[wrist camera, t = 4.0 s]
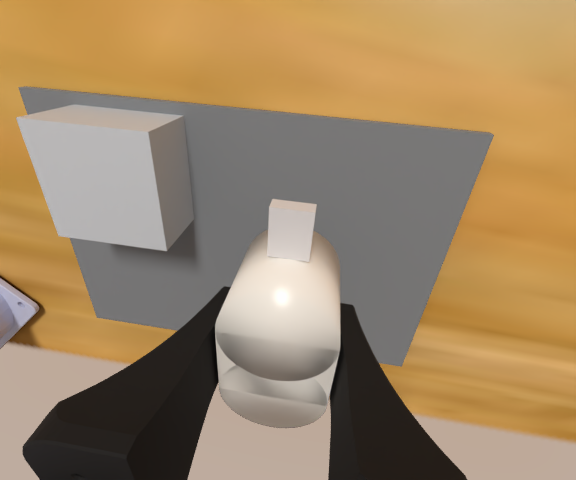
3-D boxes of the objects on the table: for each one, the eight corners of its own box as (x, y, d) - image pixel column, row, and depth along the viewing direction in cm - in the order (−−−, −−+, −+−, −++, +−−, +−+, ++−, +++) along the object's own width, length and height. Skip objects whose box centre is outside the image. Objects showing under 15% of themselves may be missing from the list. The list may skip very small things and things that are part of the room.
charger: (101, 207, 17) (58, 236, 14) (74, 104, 14) (15, 117, 12) (193, 219, 16) (166, 251, 14) (183, 115, 14) (148, 132, 11)
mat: (100, 313, 22) (96, 317, 21) (25, 86, 14) (18, 87, 14) (400, 361, 20) (401, 366, 20) (490, 132, 13) (493, 135, 12)
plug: (320, 373, 17) (315, 455, 13) (245, 360, 17) (222, 438, 14) (356, 188, 11) (363, 249, 8) (245, 175, 12) (207, 229, 8)
